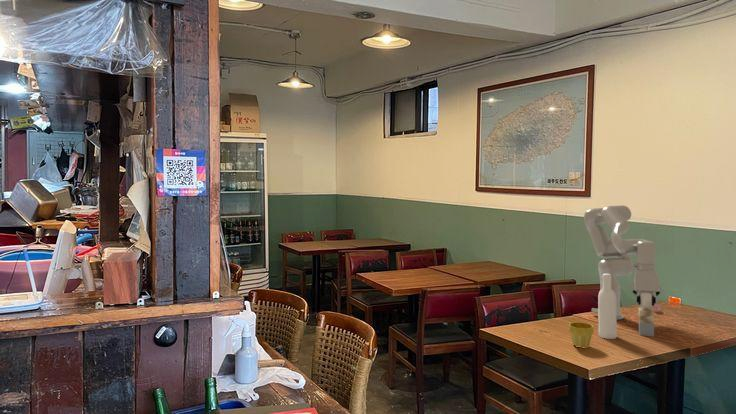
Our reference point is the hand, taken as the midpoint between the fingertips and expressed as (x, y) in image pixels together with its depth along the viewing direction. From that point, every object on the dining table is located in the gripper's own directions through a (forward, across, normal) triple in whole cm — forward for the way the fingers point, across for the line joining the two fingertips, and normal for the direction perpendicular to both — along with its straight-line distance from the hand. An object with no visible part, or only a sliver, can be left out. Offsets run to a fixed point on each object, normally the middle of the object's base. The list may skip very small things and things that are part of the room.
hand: (646, 304), depth 242 cm
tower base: (+14, 0, 0) cm, 14 cm away
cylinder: (+1, 0, 0) cm, 1 cm away
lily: (+15, +7, +45) cm, 47 cm away
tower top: (+8, 0, 0) cm, 8 cm away
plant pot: (+15, -28, -28) cm, 42 cm away
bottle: (+15, -17, -10) cm, 25 cm away
